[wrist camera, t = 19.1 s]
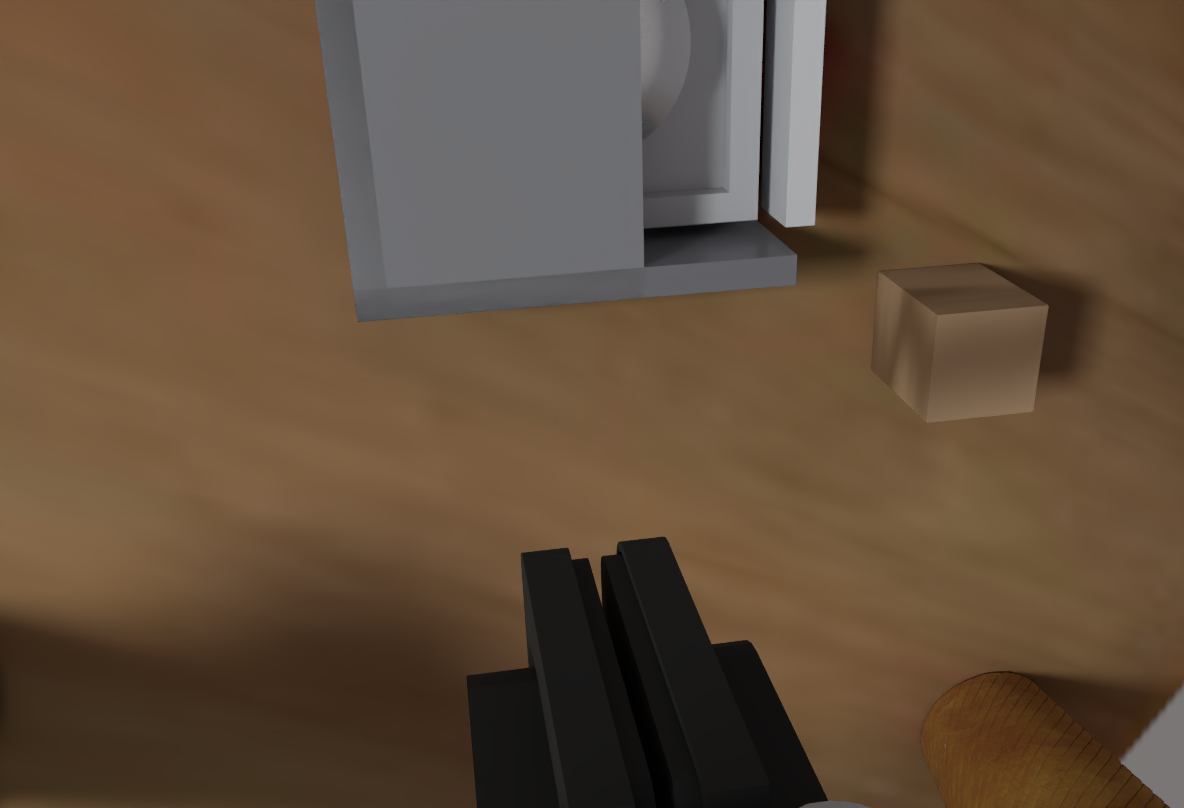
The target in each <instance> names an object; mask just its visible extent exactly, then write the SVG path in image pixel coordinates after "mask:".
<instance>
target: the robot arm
mask: <svg viewBox="0 0 1184 808" xmlns="http://www.w3.org/2000/svg"><path fill="white" fill-rule="evenodd" d="M521 568H522V582H523V595H524V609H525V623H526V636H527V650H528V664H529V668H524V669H516V670H508V671H500V672H493V673H485V674H477V675H469V676H467V687H468V700H469V712H470V724H471V737H472V749H473V761H474V774H475V786H476V798H477V808H870V807H867V806H864V805H861V804H858V803H852V802H842V801H828V799H827V797H826V795H825V793H824V791H823V789H822V787H821V785H820V783H819V780H818V778H817V776H816V774H815V772H814V770H813V768H812V766H811V764H810V762H809V760H808V757H807V755H806V753H805V751H804V749H803V747H802V745H801V743H800V741H799V739H798V737H797V735H796V732H795V730H794V728H793V726H792V724H791V722H790V720H789V718H788V716H787V714H786V712H785V709H784V707H783V705H782V703H781V701H780V699H779V697H778V695H777V693H776V691H775V689H774V687H773V684H772V682H771V680H770V678H769V676H768V674H767V672H766V670H765V668H764V666H763V664H762V661H761V659H760V657H759V655H758V653H757V651H756V650H755V648H754V646H753V645H752V643H751V642H749V641H747V640H743V641H735V642H727V643H720V644H711V642H710V640H709V637H708V635H707V633H706V630H705V628H704V625H703V623H702V621H701V618H700V616H699V614H698V611H697V609H696V606H695V604H694V602H693V599H692V597H691V595H690V592H689V590H688V587H687V585H686V583H685V580H684V578H683V576H682V573H681V571H680V568H679V566H678V564H677V561H676V559H675V557H674V554H673V552H672V550H671V547H670V545H669V542H668V541H667V539H666V537H656V538H648V539H639V540H630V541H621V542H618V544H617V555H609V556H602V558H601V585H602V604H601V601H600V598H599V594H598V591H597V587H596V584H595V580H594V577H593V573H592V570H591V566H590V563H589V560H588V558H583V559H574V560H572V559H571V555H570V552H569V549H568V548H560V549H551V550H543V551H534V552H525V553H521Z"/></svg>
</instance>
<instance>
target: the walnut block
mask: <svg viewBox="0 0 1184 808" xmlns="http://www.w3.org/2000/svg"><path fill="white" fill-rule="evenodd" d="M1048 307H1049V305H1048V304H1046V303H1044V302H1043V301H1041V300H1039V299H1038V298H1036V297H1034V296H1033V295H1031V294H1029V293H1028V292H1026V291H1024V290H1023V289H1021V288H1019V287H1018V286H1016V285H1015V284H1013V283H1011V282H1010V281H1008V280H1006V279H1005V278H1003V277H1001V276H1000V275H998V274H996V273H995V272H993V271H991V270H990V269H988V268H986V267H985V266H983V265H981V264H980V263H971V264H959V265H948V266H936V267H924V268H912V269H900V270H888V271H879V276H878V289H877V301H876V314H875V327H874V340H873V353H872V365H871V369H872V370H873V371H874V372H875V373H876V374H877V375H878V376H879V377H880V378H881V379H882V380H883V381H884V382H885V383H886V384H887V385H888V386H889V387H890V388H891V389H892V390H893V391H894V392H895V393H896V394H897V395H898V396H899V397H900V398H901V399H903V400H904V401H905V402H906V403H907V404H908V405H909V406H910V407H911V408H912V409H913V410H914V411H915V412H916V413H917V414H918V415H919V416H920V417H921V418H922V419H923V420H924V421H925V422H926V423H928V422H938V421H947V420H957V419H967V418H976V417H986V416H996V415H1005V414H1015V413H1025V412H1033V408H1034V401H1035V395H1036V388H1037V381H1038V374H1039V368H1040V361H1041V354H1042V347H1043V341H1044V334H1045V327H1046V320H1047V314H1048Z"/></svg>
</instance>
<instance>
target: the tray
mask: <svg viewBox="0 0 1184 808" xmlns="http://www.w3.org/2000/svg"><path fill="white" fill-rule="evenodd" d="M684 2H685V5H686V7H687V12H688V17H689V22H690V32H691V52H690V60H689V66H688V71H687V74H686V78H685V81H684V85H683V87H682V89H681V92H680V94H679V96H678V99H677V100H676V102H675V104H674V106H673V107H672V109H671V111H670V112H669V114H668V115H667V116H666V118H665V119H664V120H663V122H662V123H661V124H660V125H659V126H658V127H657V128H656V129H655V130H654V131H653V132H652V134H651V135H649V136H648V137H647V138H646V139H644V140H643V141H642V164H643V228H655V227H668V226H681V225H694V224H707V223H720V222H733V221H746V220H758V187H759V153H760V118H761V84H762V49H763V15H764V0H684ZM825 17H826V0H767V15H766V49H765V82H764V115H763V148H762V181H761V208H763V209H764V210H765V211H766V212H767V213H769V214H770V215H771V216H772V217H774V218H775V219H776V220H777V221H778V222H780V223H781V224H782V225H783V226H785V227H798V226H810V225H815V211H816V191H817V172H818V153H819V133H820V114H821V94H822V75H823V56H824V36H825Z"/></svg>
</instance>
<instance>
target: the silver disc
mask: <svg viewBox="0 0 1184 808" xmlns="http://www.w3.org/2000/svg"><path fill="white" fill-rule="evenodd" d="M640 36H641V100H642V141H643V140H644V139H646V138H647V137H648V136H649V135H651V134H652V132H653V131H654V130H655V129H656V128H657V127H658V126H659V125H660V124H661V123H662V122H663V120H664V119H665V118H666V116H667V115H668V114H669V112H670V111H671V109H672V107H673V106H674V104H675V102H676V100H677V99H678V96H679V94H680V92H681V89H682V87H683V85H684V81H685V78H686V74H687V71H688V66H689V60H690V52H691V32H690V22H689V17H688V12H687V7H686V5H685V2H684V0H640Z"/></svg>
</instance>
